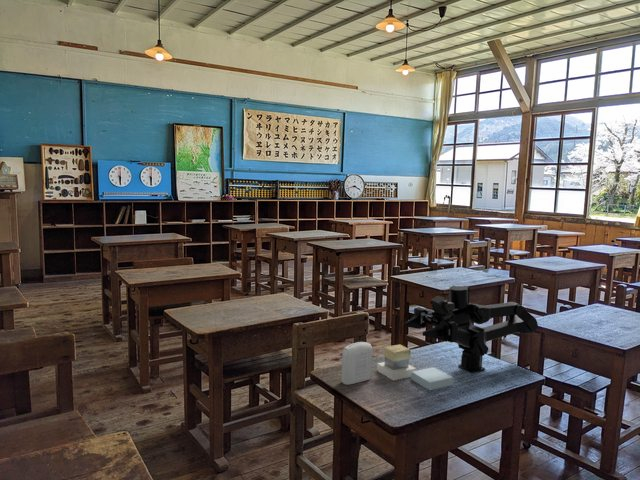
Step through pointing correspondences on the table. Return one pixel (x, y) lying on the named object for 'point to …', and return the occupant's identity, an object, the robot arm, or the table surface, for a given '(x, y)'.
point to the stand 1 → (395, 371)
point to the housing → (397, 356)
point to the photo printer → (356, 363)
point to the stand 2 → (431, 378)
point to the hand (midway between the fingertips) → (413, 329)
